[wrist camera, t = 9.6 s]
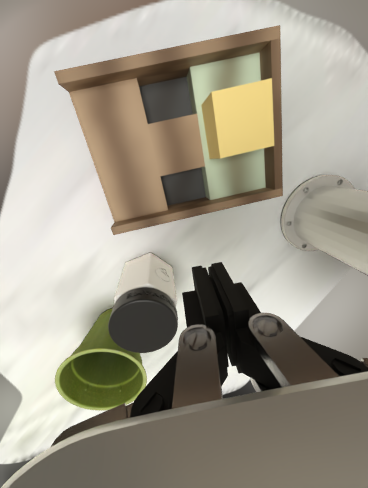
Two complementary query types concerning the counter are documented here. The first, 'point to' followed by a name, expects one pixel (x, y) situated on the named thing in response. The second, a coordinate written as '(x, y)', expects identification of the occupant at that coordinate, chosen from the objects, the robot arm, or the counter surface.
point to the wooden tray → (175, 128)
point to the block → (239, 119)
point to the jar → (144, 306)
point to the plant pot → (101, 371)
